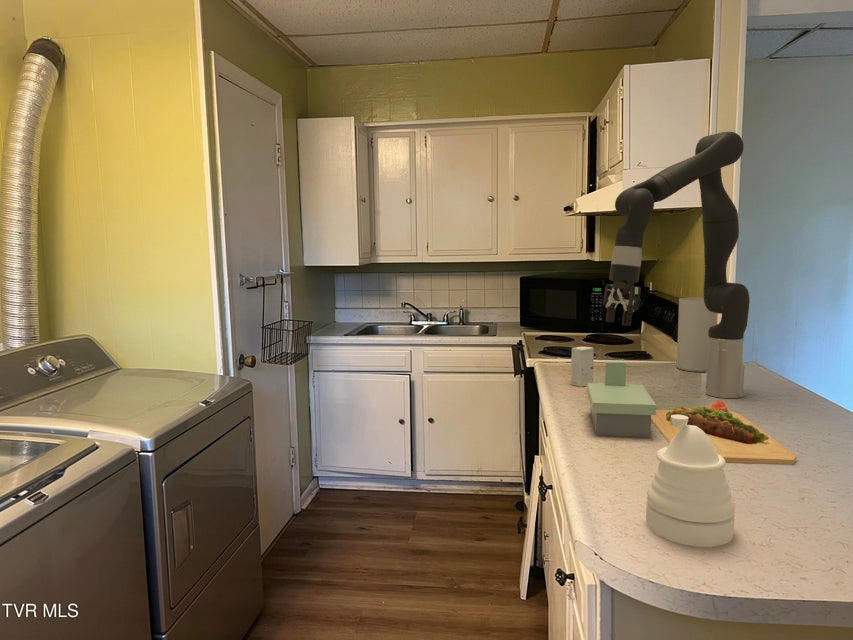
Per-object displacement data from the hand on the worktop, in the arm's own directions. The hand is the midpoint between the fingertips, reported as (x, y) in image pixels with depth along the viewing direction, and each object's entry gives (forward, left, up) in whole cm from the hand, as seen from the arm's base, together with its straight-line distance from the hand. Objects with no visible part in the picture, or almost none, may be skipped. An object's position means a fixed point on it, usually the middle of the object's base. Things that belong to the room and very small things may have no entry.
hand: (617, 323), depth 159 cm
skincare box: (+7, -27, -24) cm, 36 cm away
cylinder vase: (-34, -56, -24) cm, 69 cm away
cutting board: (-19, +21, -24) cm, 38 cm away
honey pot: (-4, +69, -24) cm, 73 cm away
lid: (+1, +18, -17) cm, 25 cm away
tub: (+1, +18, -24) cm, 30 cm away
